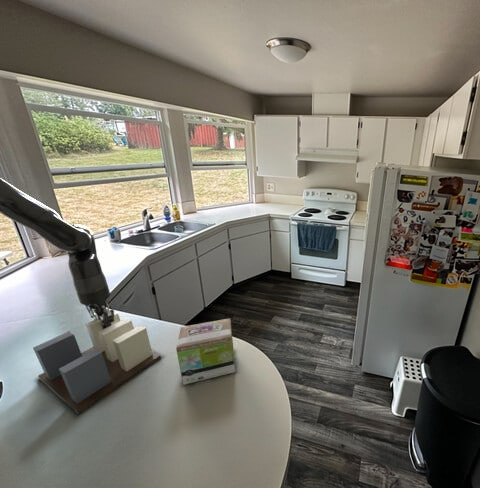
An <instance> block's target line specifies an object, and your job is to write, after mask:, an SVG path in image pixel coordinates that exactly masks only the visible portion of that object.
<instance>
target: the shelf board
mask: <svg viewBox="0 0 480 488" xmlns="http://www.w3.org/2000/svg"><path fill="white" fill-rule="evenodd" d="M93 350H95V349H94V346H92V347H90V348H88V349H86V350H85V351H81V354H82V356H84V355H86V354H88V353H90V352H91V351H93ZM101 353H102V355H103V358H104V361H105V364H106V367H107V370H108V373H109V376H110V378H111V382H110V383H109V384H107V385H106V386H104V387H102V388H101V389H99V390H98V391H96V392H95V393H93V394H92V395H90V396H89V397H87V398H86V399H84V400H83V401H81V402H80V403H78V404H77V403H76V402H75V401H73V400H72V398H71V396H70V393H69V391H68V389H67V387H66V384H65V382H64V380H63V377H62V375H59V376H58V377H56V378H54V379H52V380H50V379H49V378H47V377H46V375H45V373H44V372H43V373H41V374H38V375H37V377H38V379H39V380H40V381H41V382H42V383H44V385H46V386H47V387H48V388H49V389H50V390H51V391H52V392H54V394H55V395H56V396H58V397H59V398H60V399H61V400H62V401H63V402H64V403H65V404H66V405H68V407H70V408H71V409H72V410H73V411H74V412H75V413H76V414H77V415H80V414H81V413H83V412H84V411H86V410H87V409H89V408H90V407H92V406H93V405H95V404H96V403H97V402H99V401H100V400H102V399H103V398H105V397H107V396H108V395H109V394H111V393H113V392H114V391H115V390H116V389H118V388H119V387H121V386H122V385H124V384H126V382H128V381H129V380H131V379H133V378H134V377H135V376H137V375H139V374H140V373H141V372H143V371H144V370H146V369H147V368H149V367H150V366H152V365H154V363H156V362H157V361H159V360H160V359H162V357H161V355H160V354H159V353H158V352H155V351H154V350H152V353H153V355H151V356H150V357H148V358H147V359H145V360H144V361H142V362H141V363H139V364H138V365H136V366H135V367H133V368H132V369H130V370H128V371H127V372H126V371H125V370H123V369H122V368H121V366H120V363H119V359H117V360H115V361H114V362H112V361H110V360H109V359H107V356H106V353H105V351H103V352H101Z"/></svg>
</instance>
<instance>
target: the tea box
mask: <svg viewBox="0 0 480 488" xmlns="http://www.w3.org/2000/svg"><path fill="white" fill-rule="evenodd" d="M175 349H176V356H177V360H178V365H179V371H180V375H181V381H182V384H183V385H184V386H185V385H189V384H192V383H193V384H194V383H196V382H201V381H205V380H209V379H213V378H217V377H221V376H225V375H229V374H234V373H235V372H236V369H235V351H234V340H233V330H232V320H231V318H223V319H219V320H213V321H208V322H207V321H206V322H202V323H197V324H190V325H184V326H180V329H179V334H178V338H177V344H176V348H175Z"/></svg>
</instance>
